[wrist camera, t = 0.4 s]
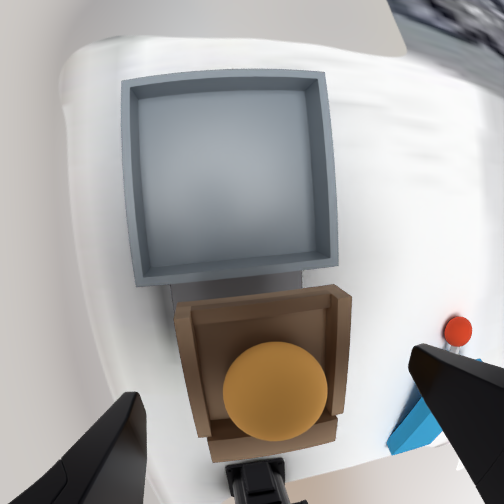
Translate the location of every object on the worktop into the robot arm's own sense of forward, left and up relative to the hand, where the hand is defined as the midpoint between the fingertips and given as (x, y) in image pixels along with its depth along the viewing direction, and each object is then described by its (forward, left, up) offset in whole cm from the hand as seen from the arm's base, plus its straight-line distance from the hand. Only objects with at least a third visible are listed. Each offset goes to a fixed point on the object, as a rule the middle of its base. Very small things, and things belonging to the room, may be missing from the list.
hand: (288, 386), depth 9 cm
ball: (-2, 0, -2) cm, 3 cm away
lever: (-17, -22, -16) cm, 32 cm away
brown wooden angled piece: (-2, 0, -14) cm, 14 cm away
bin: (+7, 0, -16) cm, 17 cm away
